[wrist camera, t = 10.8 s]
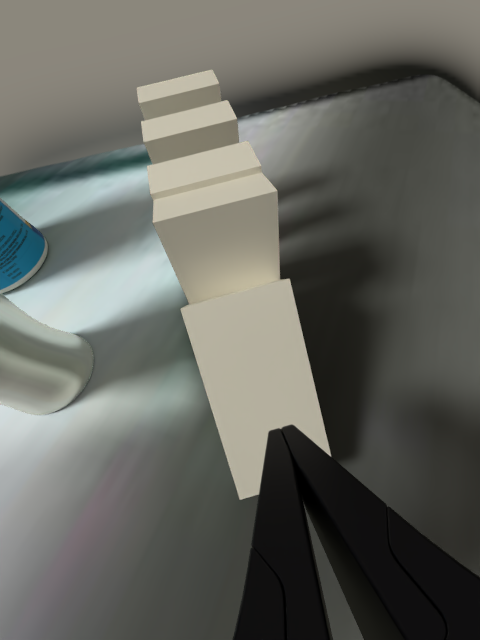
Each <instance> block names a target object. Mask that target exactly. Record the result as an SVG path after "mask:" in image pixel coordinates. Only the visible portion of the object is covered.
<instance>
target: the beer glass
mask: <svg viewBox="0 0 480 640" xmlns="http://www.w3.org/2000/svg"><path fill="white" fill-rule="evenodd" d="M93 364H94V356H93V351H92V349H91V347H90V345H89V344H88V342H87V341H86V340H85V339H83V338H82V337H80V336H78V335H75V334H72V333H69V332H65V331H61V330H58V329H55V328H52V327H49V326H47V325H45V324H43V323H41V322H39V321H37V320H36V319H34V318H32V317H31V316H29V315H28V314H27V313H25V312H24V311H23V310H21V309H20V308H19V307H17V306H16V305H15V304H14V303H13V302H11V301H10V300H9V299H8V298H6V297H5V296H4V295H3V294H1V293H0V405H4V406H7V407H10V408H12V409H15V410H18V411H21V412H23V413H27V414H31V415H45V414H49V413H53V412H55V411H58V410H60V409H62V408H63V407H65V406H67V405H68V404H69V403H71V402H72V401H73V400H74V399H75V398H76V397H77V396H78V395H79V394H80V393H81V391H82V390H83V389H84V387H85V386H86V384H87V382H88V380H89V378H90V376H91V373H92V370H93Z"/></svg>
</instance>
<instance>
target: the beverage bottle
mask: <svg viewBox="0 0 480 640" xmlns="http://www.w3.org/2000/svg"><path fill="white" fill-rule="evenodd" d="M47 251H48V245H47V241H46V239H45V237H44V236H43V235H42V233H41V232H39V231H38V230H37V229H36V228H35V227H34V226H33V225H31V224H30V223H28V222H27V221H26V220H25V219H23V218H22V217H21V216H20V215H19V214H18V213H17V212H15V211H14V210H13V209H12V208H11V207H10V206H9V205H8V204H7V203H5V202H4V201H3V200H2V199H1V198H0V293H4V292H7V291H10V290H12V289H14V288H16V287H18V286H20V285H21V284H23V283H24V282H26V281H27V280H28V279H30V278H31V277H32V276H33V275H34V274H35V273H36V272H37V271H38V270H39V268H40V267H41V266H42V264H43V262H44V261H45V258H46V256H47Z"/></svg>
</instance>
